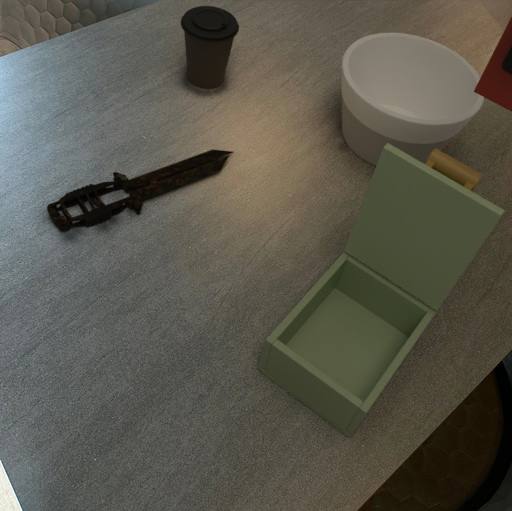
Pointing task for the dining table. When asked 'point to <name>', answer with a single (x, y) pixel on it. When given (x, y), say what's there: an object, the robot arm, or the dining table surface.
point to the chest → (344, 342)
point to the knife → (128, 185)
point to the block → (498, 74)
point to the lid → (421, 222)
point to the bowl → (404, 95)
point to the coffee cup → (208, 44)
